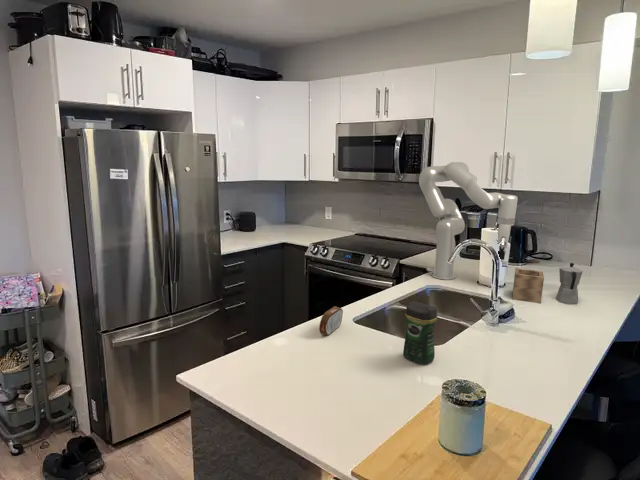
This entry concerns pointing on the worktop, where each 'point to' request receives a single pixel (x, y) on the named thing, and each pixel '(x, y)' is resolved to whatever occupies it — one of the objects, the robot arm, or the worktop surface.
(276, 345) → the worktop surface
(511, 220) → the robot arm
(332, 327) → the tin
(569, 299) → the coffeepot
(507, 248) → the supplement box
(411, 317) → the coffee jar
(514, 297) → the wooden box
